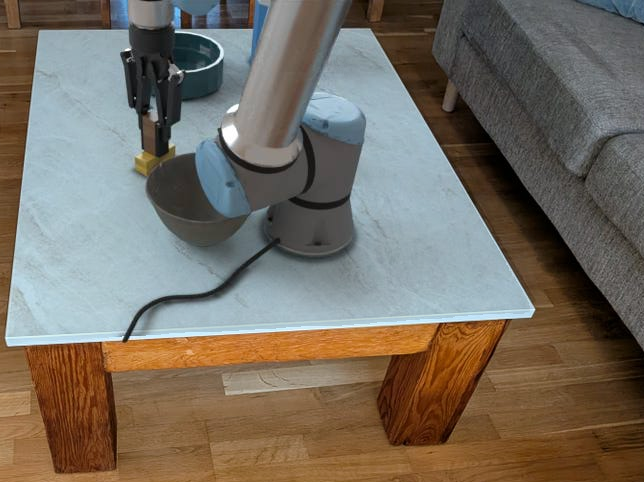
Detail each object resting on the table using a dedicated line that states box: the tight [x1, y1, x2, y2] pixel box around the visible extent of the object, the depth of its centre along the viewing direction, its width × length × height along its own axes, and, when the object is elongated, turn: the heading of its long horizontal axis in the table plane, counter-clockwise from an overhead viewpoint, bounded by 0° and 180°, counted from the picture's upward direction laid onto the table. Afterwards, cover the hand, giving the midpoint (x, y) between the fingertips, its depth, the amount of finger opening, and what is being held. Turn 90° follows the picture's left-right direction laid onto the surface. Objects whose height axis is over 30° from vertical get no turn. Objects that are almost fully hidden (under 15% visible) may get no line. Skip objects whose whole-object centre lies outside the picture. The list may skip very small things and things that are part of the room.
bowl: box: [144, 151, 252, 247], centre depth 111 cm, size 19×19×10 cm
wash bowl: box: [151, 30, 225, 100], centre depth 148 cm, size 20×20×6 cm
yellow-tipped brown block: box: [134, 109, 176, 177], centre depth 124 cm, size 8×3×10 cm, turn 140°
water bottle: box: [250, 0, 270, 64], centre depth 148 cm, size 9×9×25 cm
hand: (155, 150), depth 126 cm, fingers closed on yellow-tipped brown block, 3 cm apart
